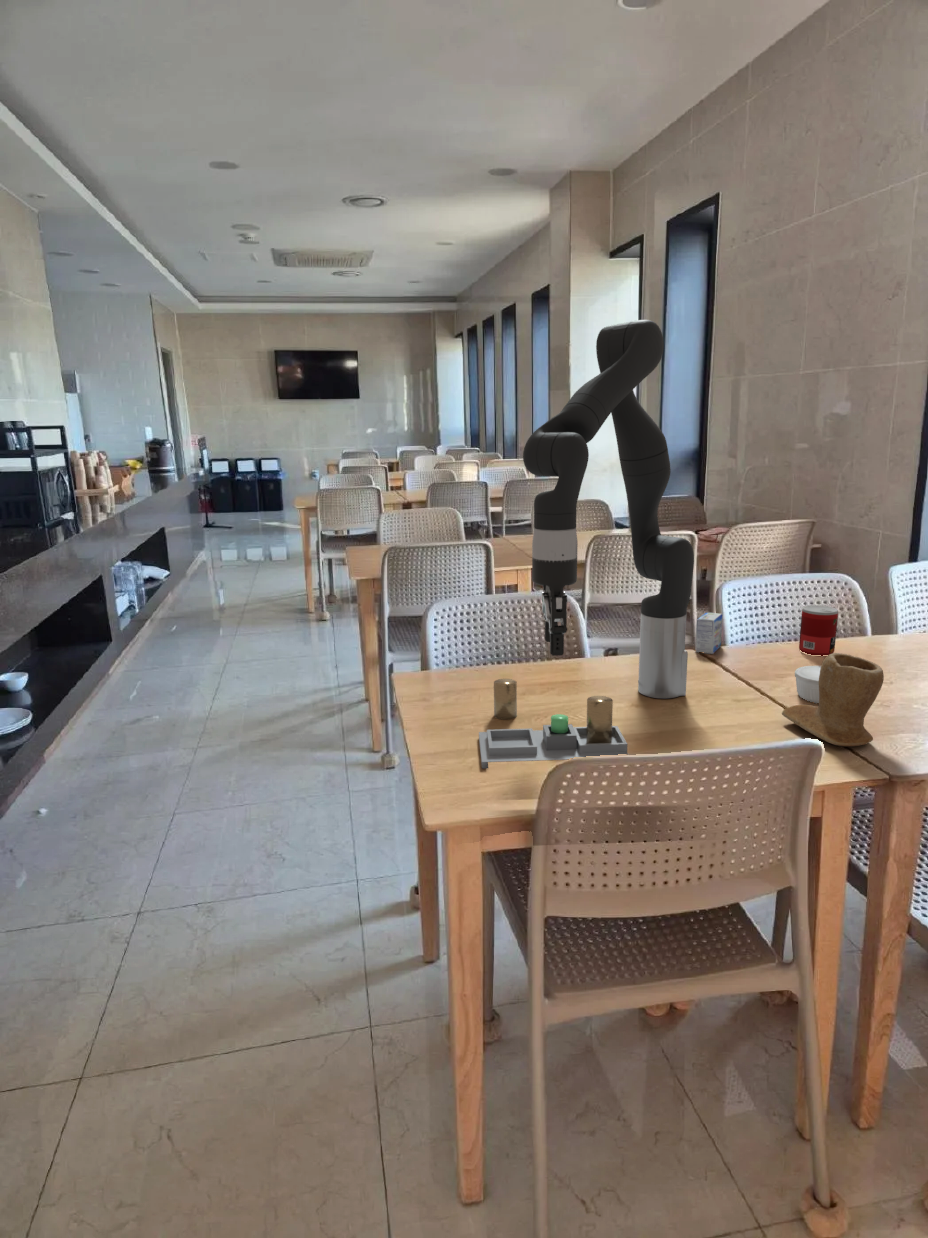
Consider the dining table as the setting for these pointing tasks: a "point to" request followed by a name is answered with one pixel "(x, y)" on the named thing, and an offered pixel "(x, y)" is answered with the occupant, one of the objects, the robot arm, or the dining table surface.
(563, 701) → the dining table surface
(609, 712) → the seated billet
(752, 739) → the dining table surface
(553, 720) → the button
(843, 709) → the tan hollow curved piece
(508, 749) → the grey socket tray
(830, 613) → the canned food
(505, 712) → the cylinder
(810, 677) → the ramekin
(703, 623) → the medicine box
